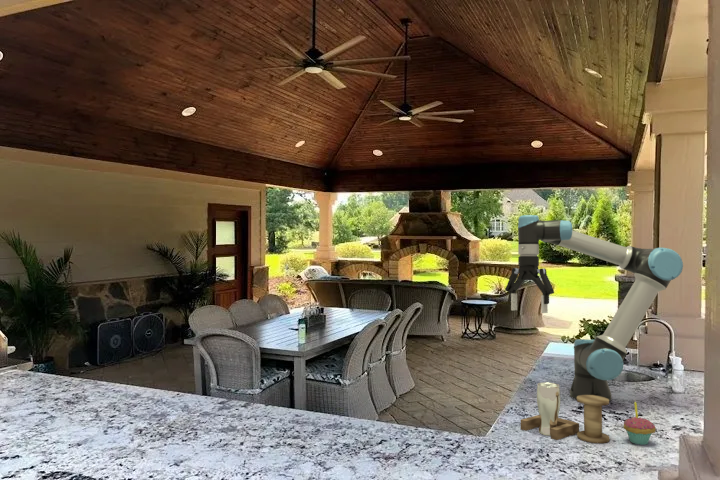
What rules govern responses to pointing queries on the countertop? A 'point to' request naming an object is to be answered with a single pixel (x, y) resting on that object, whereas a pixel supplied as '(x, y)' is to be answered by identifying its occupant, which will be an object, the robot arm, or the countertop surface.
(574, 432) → the u-shaped block
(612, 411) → the countertop surface
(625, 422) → the cupcake
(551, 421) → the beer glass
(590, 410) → the bobbin
